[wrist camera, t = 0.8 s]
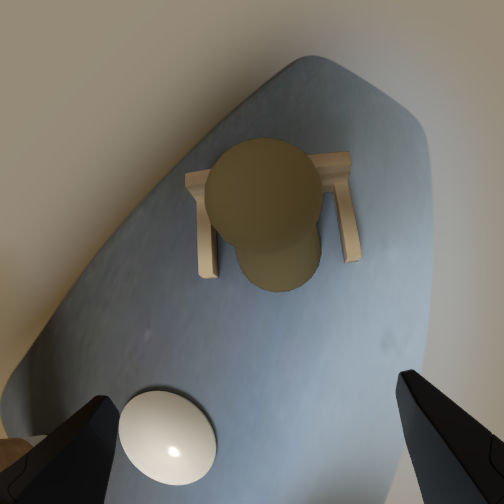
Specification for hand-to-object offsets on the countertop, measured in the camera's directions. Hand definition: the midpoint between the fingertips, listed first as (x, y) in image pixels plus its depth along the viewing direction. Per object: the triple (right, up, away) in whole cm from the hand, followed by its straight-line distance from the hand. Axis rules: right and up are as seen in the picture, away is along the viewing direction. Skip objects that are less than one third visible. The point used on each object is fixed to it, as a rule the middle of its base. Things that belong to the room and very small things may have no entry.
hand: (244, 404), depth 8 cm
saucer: (-6, -10, +12) cm, 17 cm away
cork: (+2, +4, +14) cm, 15 cm away
